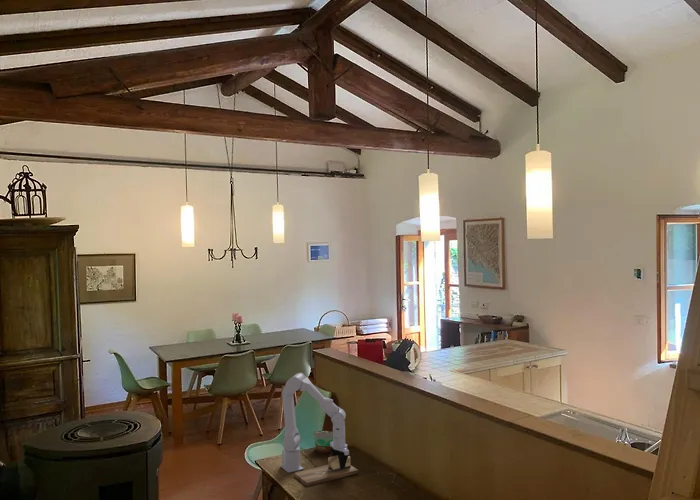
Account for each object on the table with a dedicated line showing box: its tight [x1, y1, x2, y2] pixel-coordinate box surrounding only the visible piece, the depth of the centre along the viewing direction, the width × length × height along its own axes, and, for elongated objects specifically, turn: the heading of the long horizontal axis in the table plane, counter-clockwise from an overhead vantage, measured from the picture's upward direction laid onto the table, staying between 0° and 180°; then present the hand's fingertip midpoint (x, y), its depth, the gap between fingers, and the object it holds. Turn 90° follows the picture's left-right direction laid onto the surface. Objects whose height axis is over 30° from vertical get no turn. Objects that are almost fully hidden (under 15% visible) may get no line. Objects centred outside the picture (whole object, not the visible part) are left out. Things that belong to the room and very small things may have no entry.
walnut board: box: [293, 464, 359, 487], centre depth 247 cm, size 13×26×2 cm, turn 121°
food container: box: [312, 429, 333, 454], centre depth 277 cm, size 12×6×10 cm, turn 80°
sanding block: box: [327, 455, 352, 472], centre depth 251 cm, size 5×9×5 cm, turn 121°
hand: (339, 466), depth 251 cm, fingers closed on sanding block, 5 cm apart
